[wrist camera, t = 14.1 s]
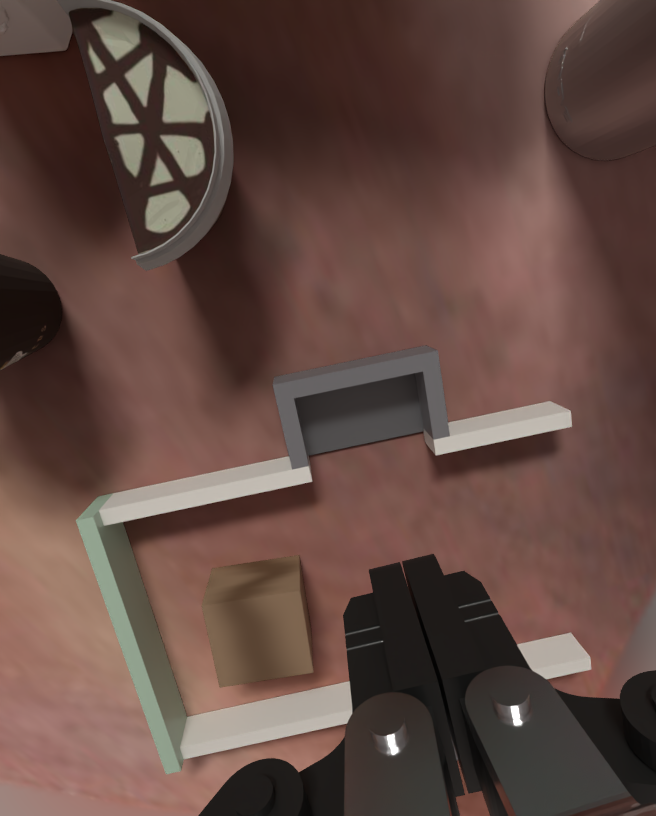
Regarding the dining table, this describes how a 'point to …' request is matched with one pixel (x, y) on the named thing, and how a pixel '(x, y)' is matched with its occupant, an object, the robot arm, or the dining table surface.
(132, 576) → the track
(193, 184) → the food container
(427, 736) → the robot arm
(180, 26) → the dining table surface
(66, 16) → the jar
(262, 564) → the walnut block
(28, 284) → the coffee mug
